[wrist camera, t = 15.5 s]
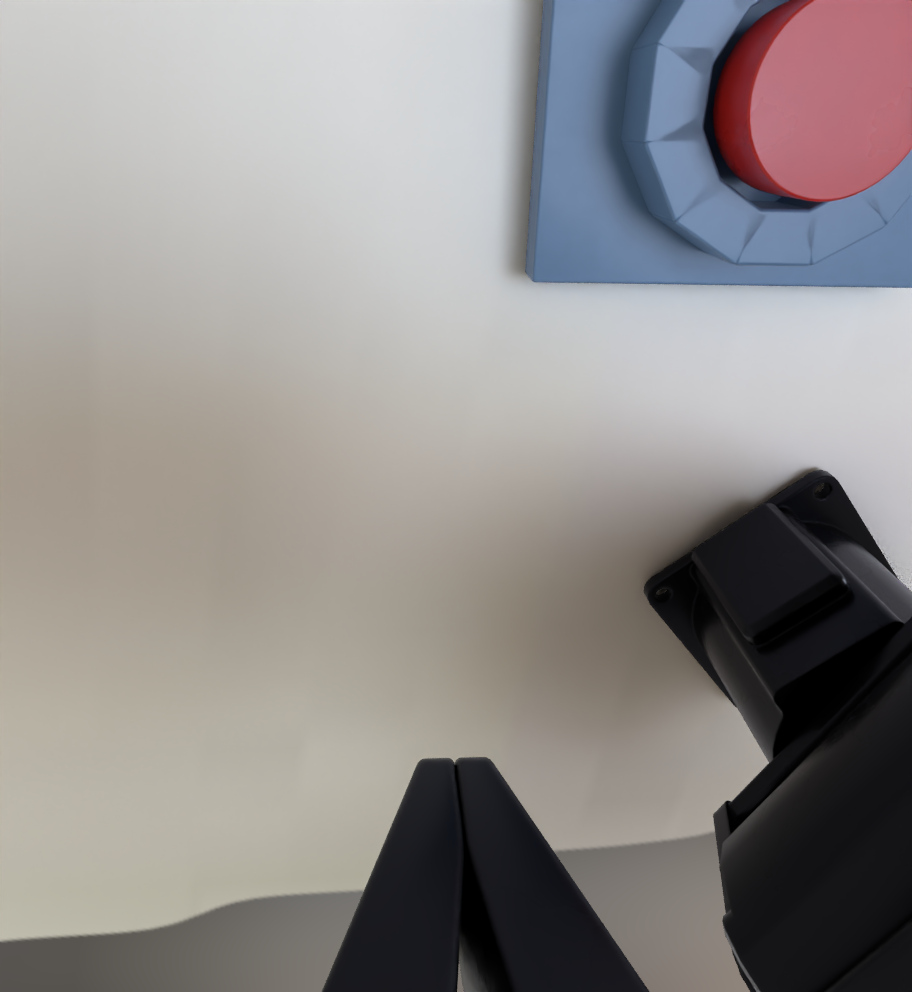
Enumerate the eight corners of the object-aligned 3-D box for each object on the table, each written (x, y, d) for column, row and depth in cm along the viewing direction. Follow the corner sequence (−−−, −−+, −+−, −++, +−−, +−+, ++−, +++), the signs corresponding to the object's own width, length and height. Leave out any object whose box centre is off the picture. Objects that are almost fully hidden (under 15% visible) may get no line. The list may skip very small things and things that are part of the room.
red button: (908, -1, 15) (968, -15, 13) (858, 196, 16) (908, 204, 15) (730, -9, 15) (770, -24, 13) (698, 192, 16) (730, 200, 15)
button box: (1005, -98, 16) (1125, -140, 14) (899, 279, 20) (977, 304, 17) (551, -124, 16) (583, -173, 13) (524, 273, 19) (545, 298, 16)
